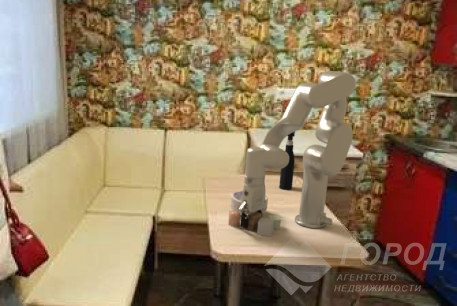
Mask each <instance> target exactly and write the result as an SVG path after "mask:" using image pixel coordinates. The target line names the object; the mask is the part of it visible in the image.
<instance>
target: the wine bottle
mask: <svg viewBox="0 0 457 306" xmlns="http://www.w3.org/2000/svg"><path fill="white" fill-rule="evenodd" d="M295 133H296V131H295V132H292V133H290V134H289V135H287V136H286V137H287V140H286V144H285V149H284V151H285V152H287V154H288V155H289V163H288V165H287V166H286V167H284V168H282V169H280V174H279V186H278V188H279V189H280V190H283V191H291V190H292V189H293V182H294V181H293V180H294V170H295V163H296V162H295V154H294V141H293V140H294V137H295V136H296V134H295Z"/></svg>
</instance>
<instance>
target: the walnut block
mask: <svg viewBox="0 0 457 306" xmlns="http://www.w3.org/2000/svg"><path fill="white" fill-rule="evenodd" d="M245 214H247V212H245ZM260 218H261V213H259V212H254V213H250V214H249V216H248V219H249V223H248V229H245V228H243V227H241V228H242V229H244V230H247V231H249V232H255V231H258V221H259V220H260Z"/></svg>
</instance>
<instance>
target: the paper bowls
mask: <svg viewBox="0 0 457 306" xmlns="http://www.w3.org/2000/svg"><path fill="white" fill-rule="evenodd" d="M242 193H243V190H238V191H234V192H232V193H231V195H230V204H229V205H230V208H231V210H237V211H238V209H239V207H240V206H241V201H242ZM265 199H266V201H265V207H264V208H263V212H262V213H264V212H266V211H267V210H268V201H269V200H268V199H269V198H268V196H267V195H266V194H265ZM246 210H248V209H246Z"/></svg>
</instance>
